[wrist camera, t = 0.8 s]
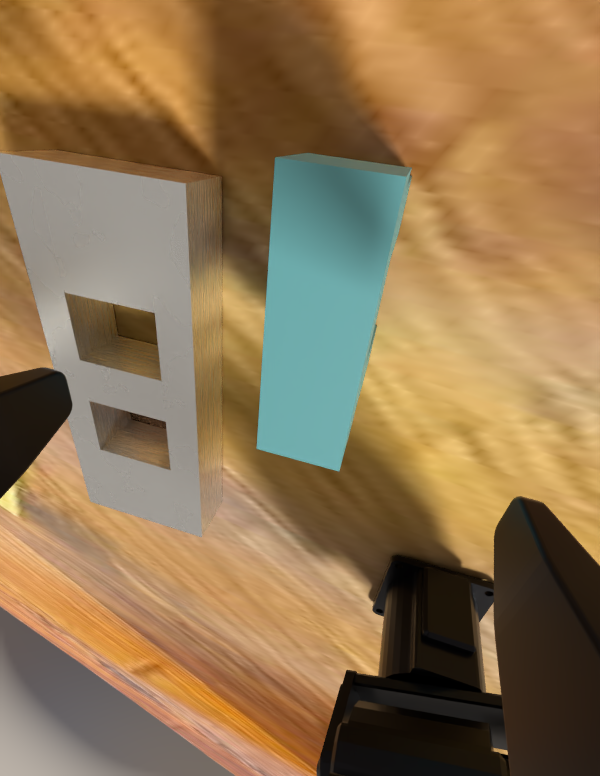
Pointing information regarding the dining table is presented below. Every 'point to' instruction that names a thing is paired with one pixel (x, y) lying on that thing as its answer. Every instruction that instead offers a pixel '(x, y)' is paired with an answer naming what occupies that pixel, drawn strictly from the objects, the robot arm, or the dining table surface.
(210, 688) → the dining table surface
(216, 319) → the rail
